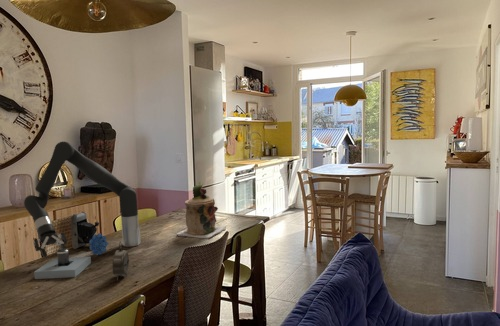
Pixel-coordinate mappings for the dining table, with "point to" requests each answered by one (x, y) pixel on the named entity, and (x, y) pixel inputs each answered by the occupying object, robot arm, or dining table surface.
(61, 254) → the metal cylinder
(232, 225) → the dining table surface
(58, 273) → the holder
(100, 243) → the grapes
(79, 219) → the vintage camera
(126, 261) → the alarm clock
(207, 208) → the cookie jar
